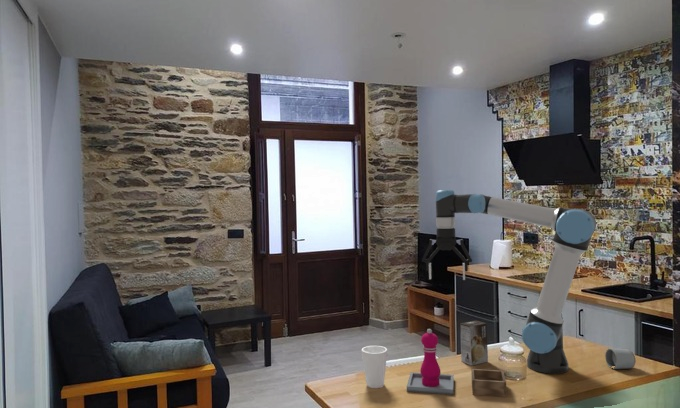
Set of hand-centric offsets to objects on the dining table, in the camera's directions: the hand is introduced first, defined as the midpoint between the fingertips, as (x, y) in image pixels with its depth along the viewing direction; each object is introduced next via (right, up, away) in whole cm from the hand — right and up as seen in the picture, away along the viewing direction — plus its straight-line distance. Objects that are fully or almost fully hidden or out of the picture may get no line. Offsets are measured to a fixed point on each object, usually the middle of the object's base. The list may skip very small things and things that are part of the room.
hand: (447, 279), depth 193 cm
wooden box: (+8, -35, -28) cm, 45 cm away
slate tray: (-11, -35, -23) cm, 43 cm away
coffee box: (+12, -35, +1) cm, 37 cm away
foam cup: (-31, -36, -21) cm, 52 cm away
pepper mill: (-11, -35, -23) cm, 43 cm away
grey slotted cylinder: (+65, -33, -9) cm, 74 cm away
